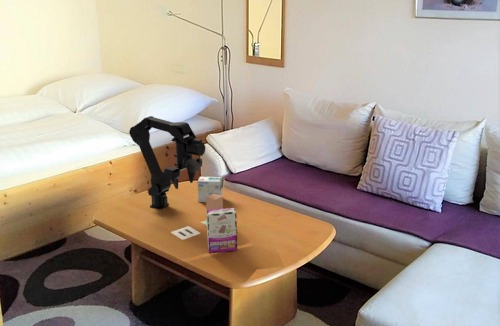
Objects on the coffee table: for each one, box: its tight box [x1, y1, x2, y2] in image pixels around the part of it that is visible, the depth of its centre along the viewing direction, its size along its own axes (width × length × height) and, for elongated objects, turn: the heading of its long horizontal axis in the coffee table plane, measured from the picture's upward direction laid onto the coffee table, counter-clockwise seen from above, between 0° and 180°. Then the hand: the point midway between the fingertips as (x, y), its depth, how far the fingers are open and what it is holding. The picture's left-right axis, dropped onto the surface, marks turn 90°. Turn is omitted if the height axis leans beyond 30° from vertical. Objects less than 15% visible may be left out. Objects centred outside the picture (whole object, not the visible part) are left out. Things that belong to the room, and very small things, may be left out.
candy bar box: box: [205, 207, 238, 254], centre depth 210 cm, size 11×5×16 cm, turn 101°
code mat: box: [170, 219, 207, 241], centre depth 229 cm, size 26×15×1 cm, turn 130°
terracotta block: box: [205, 194, 224, 210], centre depth 232 cm, size 5×5×12 cm
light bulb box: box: [197, 176, 223, 203], centre depth 258 cm, size 11×7×11 cm, turn 84°
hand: (184, 185), depth 241 cm, fingers open, 9 cm apart
